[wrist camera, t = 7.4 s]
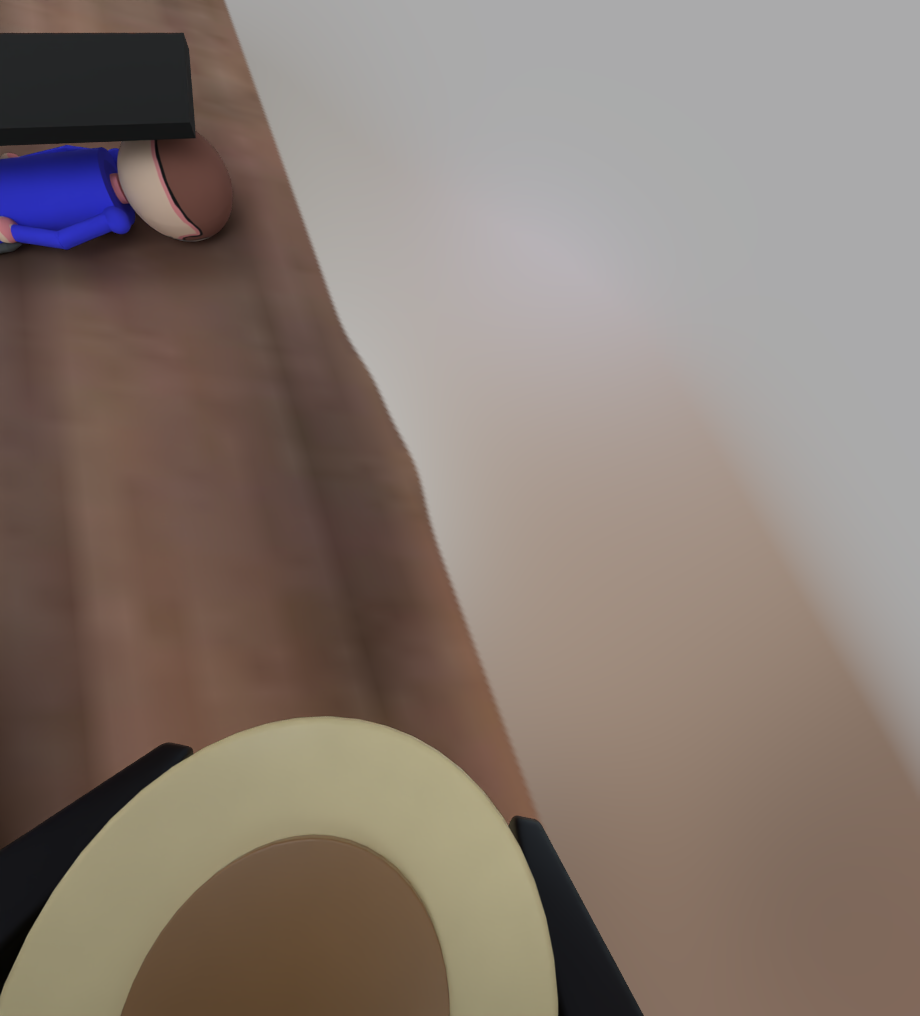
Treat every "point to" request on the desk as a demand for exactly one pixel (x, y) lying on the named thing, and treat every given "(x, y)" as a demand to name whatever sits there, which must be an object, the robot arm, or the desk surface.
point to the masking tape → (296, 891)
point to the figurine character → (104, 140)
